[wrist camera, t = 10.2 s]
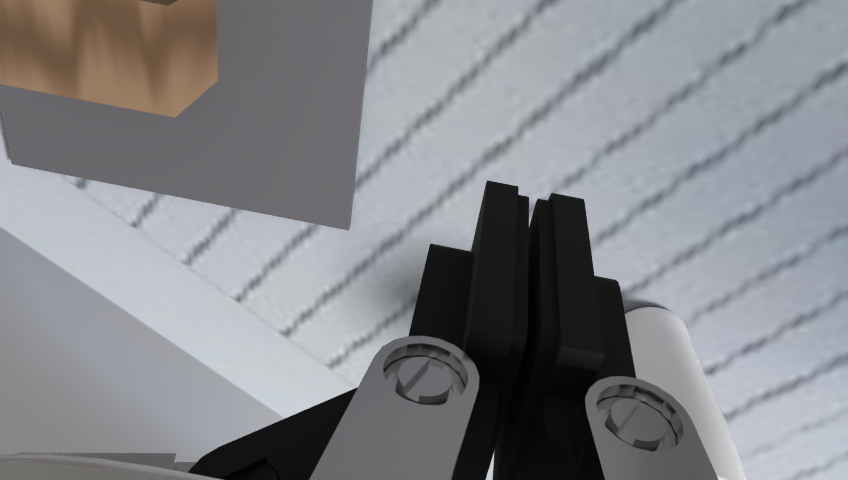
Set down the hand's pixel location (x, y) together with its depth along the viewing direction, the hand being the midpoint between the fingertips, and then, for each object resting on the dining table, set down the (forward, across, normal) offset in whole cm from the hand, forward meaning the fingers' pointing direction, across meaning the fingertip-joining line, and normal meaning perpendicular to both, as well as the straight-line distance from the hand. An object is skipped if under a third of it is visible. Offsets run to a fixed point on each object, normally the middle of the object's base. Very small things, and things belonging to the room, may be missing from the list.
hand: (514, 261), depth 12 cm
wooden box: (+26, +17, +7) cm, 32 cm away
